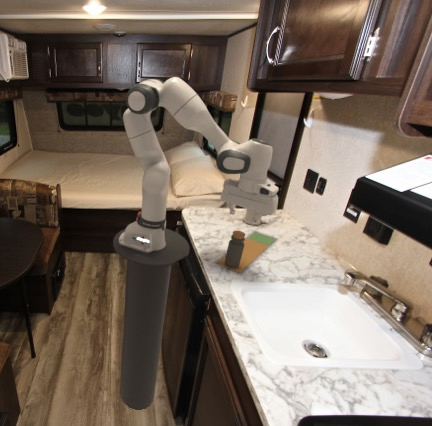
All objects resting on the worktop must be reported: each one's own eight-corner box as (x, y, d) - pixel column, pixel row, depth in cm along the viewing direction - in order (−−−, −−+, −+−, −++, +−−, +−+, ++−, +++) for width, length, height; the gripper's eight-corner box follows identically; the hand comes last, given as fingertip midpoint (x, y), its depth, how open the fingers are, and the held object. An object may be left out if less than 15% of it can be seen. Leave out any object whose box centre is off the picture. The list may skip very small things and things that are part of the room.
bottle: (221, 263, 122) (228, 232, 116) (228, 258, 126) (235, 228, 120) (234, 270, 118) (242, 238, 112) (241, 265, 122) (249, 233, 116)
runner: (239, 273, 117) (239, 273, 117) (216, 262, 123) (216, 262, 123) (268, 246, 137) (268, 246, 137) (247, 238, 143) (247, 238, 143)
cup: (253, 217, 166) (258, 197, 161) (267, 223, 158) (272, 203, 153) (239, 219, 162) (244, 199, 157) (252, 227, 154) (258, 206, 149)
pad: (268, 246, 137) (268, 246, 137) (247, 238, 143) (247, 238, 143) (276, 239, 143) (276, 238, 143) (255, 231, 149) (255, 231, 149)
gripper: (221, 179, 112) (214, 211, 118) (277, 193, 99) (267, 229, 105) (228, 175, 116) (222, 207, 122) (283, 189, 103) (273, 224, 109)
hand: (243, 217), depth 113 cm, fingers open, 8 cm apart
